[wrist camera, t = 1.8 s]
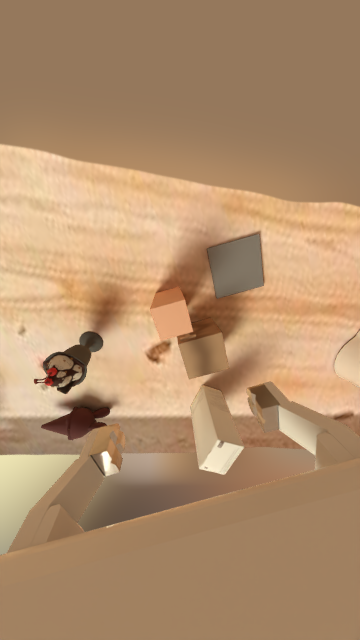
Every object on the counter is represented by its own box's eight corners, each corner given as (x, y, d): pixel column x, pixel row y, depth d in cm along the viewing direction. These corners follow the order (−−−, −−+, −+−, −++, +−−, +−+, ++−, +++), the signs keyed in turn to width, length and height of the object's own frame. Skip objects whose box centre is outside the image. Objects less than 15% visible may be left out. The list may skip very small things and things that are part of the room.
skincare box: (208, 411, 46) (225, 476, 32) (188, 406, 45) (197, 471, 31) (222, 389, 44) (247, 449, 30) (201, 382, 43) (218, 442, 29)
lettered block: (210, 316, 37) (221, 331, 29) (217, 348, 40) (229, 368, 32) (175, 326, 37) (177, 343, 29) (185, 356, 40) (189, 379, 32)
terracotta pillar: (179, 286, 34) (184, 299, 23) (185, 308, 36) (193, 331, 24) (155, 293, 34) (149, 309, 23) (162, 315, 36) (160, 340, 25)
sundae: (83, 322, 35) (26, 364, 21) (112, 338, 37) (77, 386, 23) (70, 345, 37) (9, 398, 23) (98, 359, 38) (58, 417, 24)
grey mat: (257, 234, 32) (259, 233, 31) (262, 285, 35) (263, 285, 35) (206, 248, 32) (207, 248, 31) (216, 298, 35) (217, 298, 35)
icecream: (39, 450, 38) (108, 441, 41) (25, 436, 34) (102, 427, 36) (54, 419, 44) (113, 412, 46) (43, 403, 40) (109, 397, 42)
